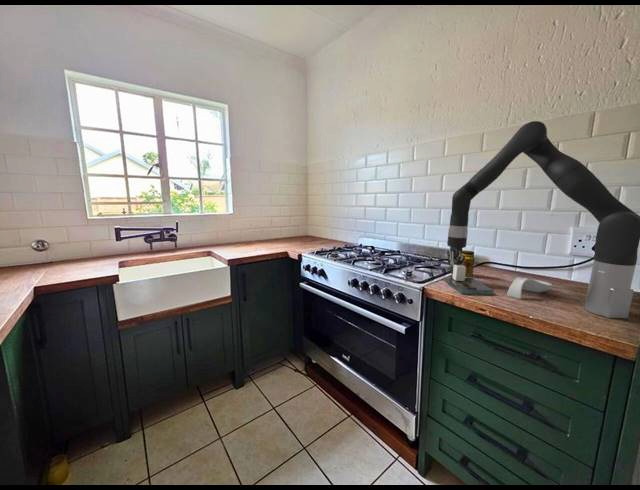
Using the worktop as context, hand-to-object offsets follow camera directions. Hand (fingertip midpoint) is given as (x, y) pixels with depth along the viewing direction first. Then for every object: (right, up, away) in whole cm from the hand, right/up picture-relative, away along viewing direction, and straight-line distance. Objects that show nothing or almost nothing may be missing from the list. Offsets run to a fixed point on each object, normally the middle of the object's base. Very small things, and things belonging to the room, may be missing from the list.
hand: (453, 273), depth 122 cm
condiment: (+11, -2, +11) cm, 16 cm away
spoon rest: (+23, -7, -13) cm, 27 cm away
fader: (0, -2, -5) cm, 5 cm away
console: (+1, -5, -9) cm, 10 cm away
